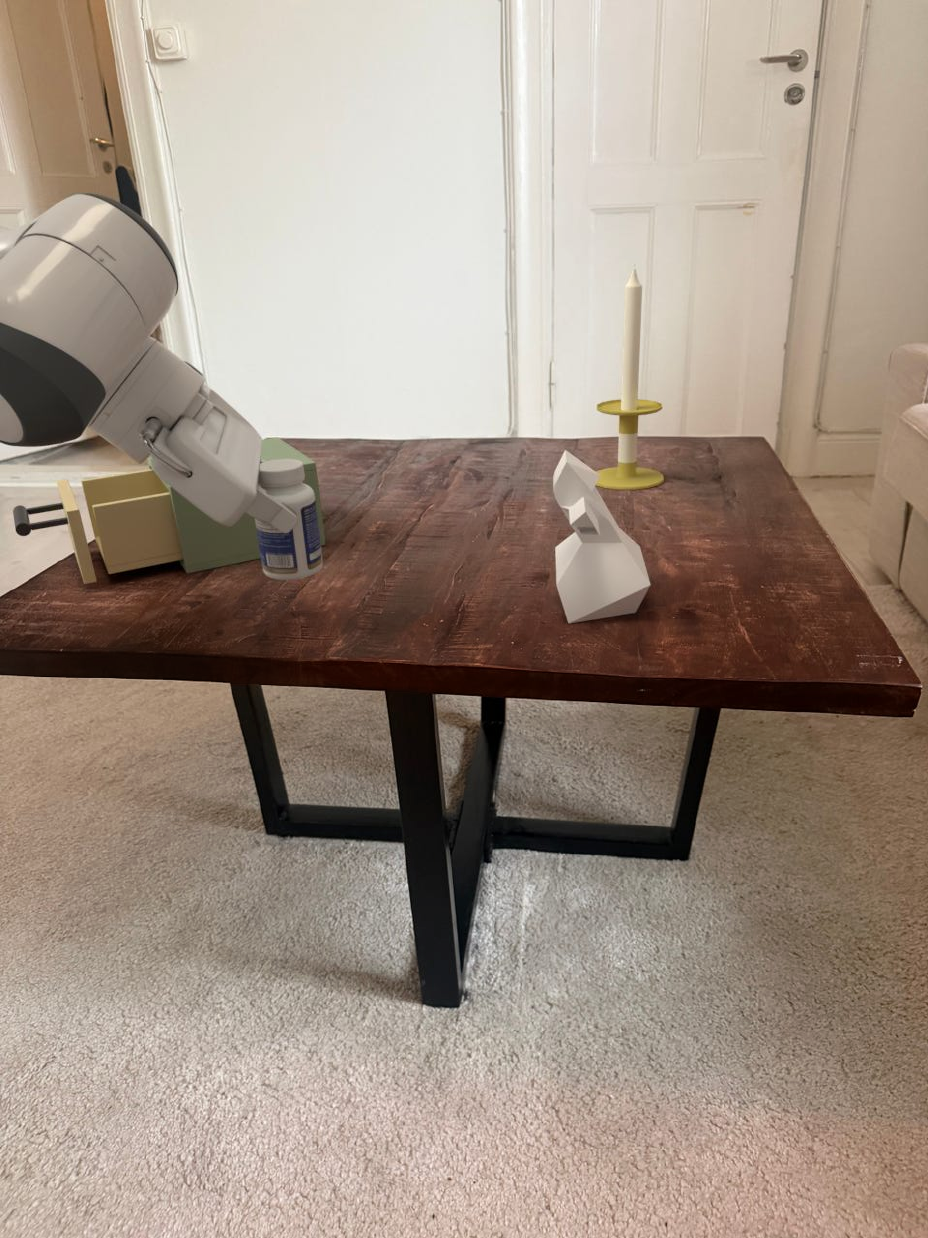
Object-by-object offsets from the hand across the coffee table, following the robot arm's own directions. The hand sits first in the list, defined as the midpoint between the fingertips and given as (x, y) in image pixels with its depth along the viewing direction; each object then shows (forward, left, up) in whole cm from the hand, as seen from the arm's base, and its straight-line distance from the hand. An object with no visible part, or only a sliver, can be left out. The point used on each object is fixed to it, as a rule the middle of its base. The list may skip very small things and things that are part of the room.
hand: (292, 512), depth 75 cm
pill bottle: (-1, 0, -6) cm, 6 cm away
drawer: (-13, +26, -10) cm, 30 cm away
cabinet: (0, +26, -10) cm, 28 cm away
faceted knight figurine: (+25, -10, -11) cm, 29 cm away
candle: (+51, +20, -11) cm, 56 cm away
